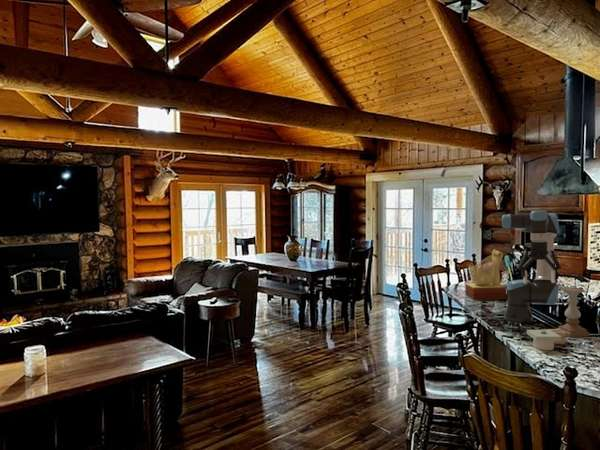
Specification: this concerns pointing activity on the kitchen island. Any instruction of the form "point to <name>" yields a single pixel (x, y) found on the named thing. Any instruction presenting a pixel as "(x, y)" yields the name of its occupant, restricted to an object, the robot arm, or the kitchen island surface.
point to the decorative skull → (490, 269)
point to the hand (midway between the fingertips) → (539, 282)
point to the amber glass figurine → (486, 280)
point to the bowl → (543, 345)
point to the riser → (560, 333)
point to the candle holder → (573, 315)
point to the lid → (543, 335)
